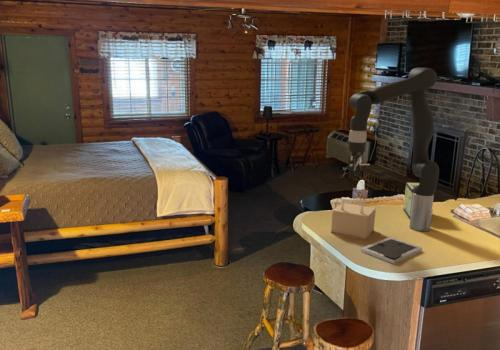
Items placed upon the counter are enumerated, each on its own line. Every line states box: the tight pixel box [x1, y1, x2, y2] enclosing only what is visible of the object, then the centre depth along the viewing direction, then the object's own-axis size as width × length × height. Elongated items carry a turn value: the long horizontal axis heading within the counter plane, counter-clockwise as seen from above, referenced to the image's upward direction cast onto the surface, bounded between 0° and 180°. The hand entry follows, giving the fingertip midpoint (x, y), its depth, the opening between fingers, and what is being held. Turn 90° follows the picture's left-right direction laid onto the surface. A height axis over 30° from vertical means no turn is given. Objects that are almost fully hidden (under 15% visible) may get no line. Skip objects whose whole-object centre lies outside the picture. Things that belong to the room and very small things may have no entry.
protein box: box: [403, 181, 419, 220], centre depth 245 cm, size 10×16×16 cm
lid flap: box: [332, 196, 377, 218], centre depth 218 cm, size 16×14×7 cm
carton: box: [330, 210, 377, 241], centre depth 220 cm, size 16×14×10 cm
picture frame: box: [360, 236, 423, 265], centre depth 199 cm, size 16×3×21 cm
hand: (354, 176), depth 211 cm, fingers open, 8 cm apart
